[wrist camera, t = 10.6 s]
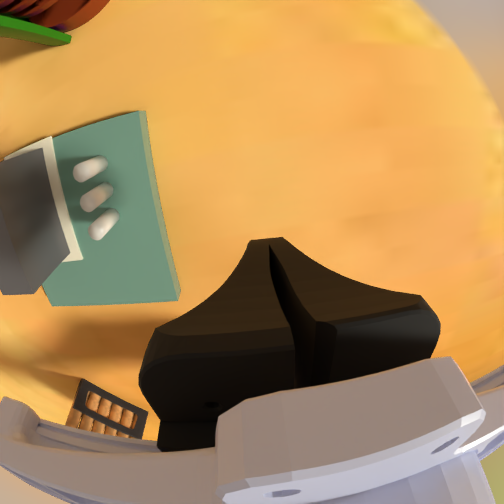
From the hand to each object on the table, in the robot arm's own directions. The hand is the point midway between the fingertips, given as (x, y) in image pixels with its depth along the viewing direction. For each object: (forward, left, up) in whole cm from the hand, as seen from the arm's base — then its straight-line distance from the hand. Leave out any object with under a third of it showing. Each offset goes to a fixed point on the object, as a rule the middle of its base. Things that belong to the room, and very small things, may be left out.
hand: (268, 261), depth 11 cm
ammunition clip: (-26, +22, -11) cm, 36 cm away
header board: (0, +14, -10) cm, 17 cm away
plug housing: (+2, +18, -9) cm, 20 cm away
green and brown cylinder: (+20, +13, -11) cm, 26 cm away
